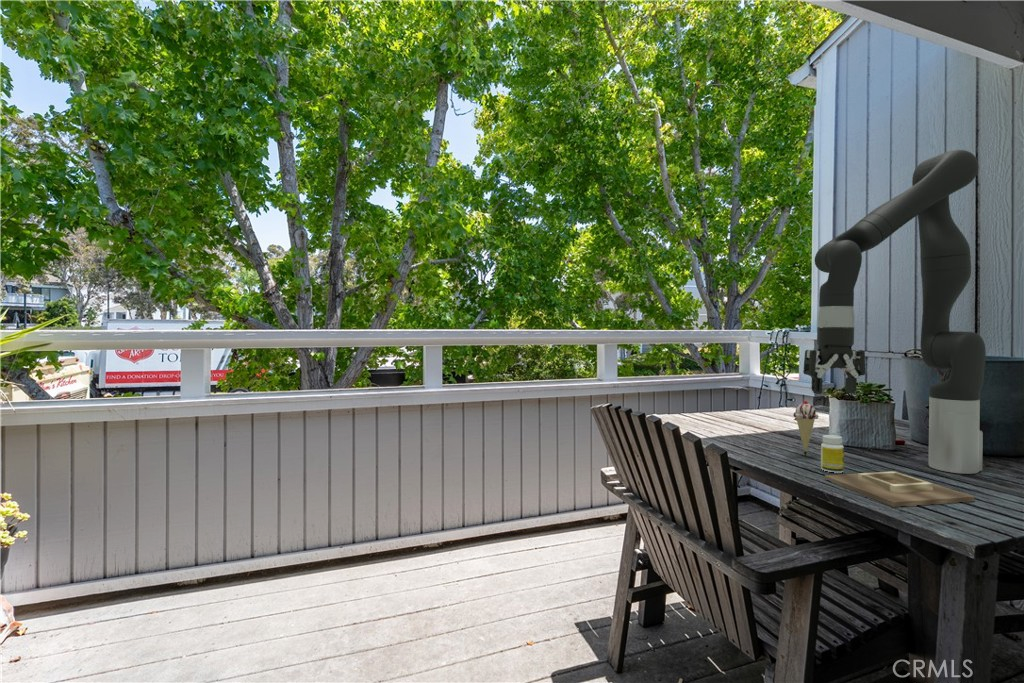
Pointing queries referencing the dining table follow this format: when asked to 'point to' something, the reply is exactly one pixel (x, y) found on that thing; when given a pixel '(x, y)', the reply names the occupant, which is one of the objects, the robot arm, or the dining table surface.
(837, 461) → the supplement bottle
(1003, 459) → the dining table surface
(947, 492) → the socket board
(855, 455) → the dining table surface
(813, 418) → the ice cream cone
